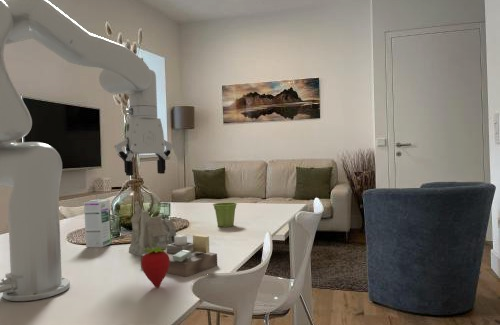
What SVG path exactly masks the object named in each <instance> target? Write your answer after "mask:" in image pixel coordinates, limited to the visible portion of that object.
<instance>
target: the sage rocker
mask: <svg viewBox="0 0 500 325" xmlns="http://www.w3.org/2000/svg"><path fill="white" fill-rule="evenodd" d="M191 256H192V254H191V251H187V250H182V251H180V252H178V253H176V254H175V255H173V260H174V261H179V262H182V261H184V260H185V259H186V257H191Z"/></svg>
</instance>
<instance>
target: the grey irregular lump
mask: <svg viewBox="0 0 500 325" xmlns="http://www.w3.org/2000/svg"><path fill="white" fill-rule="evenodd" d="M130 222H131V228H132V231H131V232H130V233H131V236H130V238H131V243H130V244H129V247H128V253H129V254H133V255H135V256H138V257H141V255H143V254H147V253H148V252H150V251H142V250H145V249H154V250H155V248H157V247H159V248H160V249H165V248H167V245H169V244H173V243H175V236H177V232H176V230H177V228H176V226H175V223H174V221H172V220H166V219H165V218H164V219H163V215H162V214H158V215H157V216H153V217H151V216H150V215H149V210H146V209H142V208H141V205H140V203H139V201H135V202H134V214H133V215H132V217H131V218H130ZM152 241H153V242H154V243H155V244H156V245H157V246H156V245H155V244H154V243H153V242H152Z"/></svg>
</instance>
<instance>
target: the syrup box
mask: <svg viewBox="0 0 500 325" xmlns="http://www.w3.org/2000/svg"><path fill="white" fill-rule="evenodd" d="M110 202H111V201H110V199H106V198H101V199H99V198H98V199H93V200H89V201H84V202H83V211H84V230H85V244H86V246H85V247H86V248H97V249H98V248H101V249H102V248H104V247H106V246H108V245H112V243H113V240H112V238H113V237H112V236H113V235H112V221H111V219H112V218H111V206H110V205H111V203H110Z"/></svg>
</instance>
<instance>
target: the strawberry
mask: <svg viewBox="0 0 500 325" xmlns="http://www.w3.org/2000/svg"><path fill="white" fill-rule="evenodd" d="M152 242H153V241H152ZM153 243H154V242H153ZM154 244H155V243H154ZM155 245H156V244H155ZM156 246H157V245H156ZM163 250H166V249H160V248H159V247H157V248H155V250H154V249H145V250H142V251H150V252H148V253H147V254H145V255H144V257H143V258H142V263H141V262H140V266H141V265H142V267H141V269H142V271H143V274H144V275H145V276H146V277H147V279H148V280H149V281H150V283H152V285H153V287H155V288H159V287H160V286H161V284H162V282H163V281H164V279H165V278H166V274H168V273H167V271H168V268H169V263H170V260H169V256H168V255H167V253H165V252H164V251H163Z"/></svg>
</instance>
